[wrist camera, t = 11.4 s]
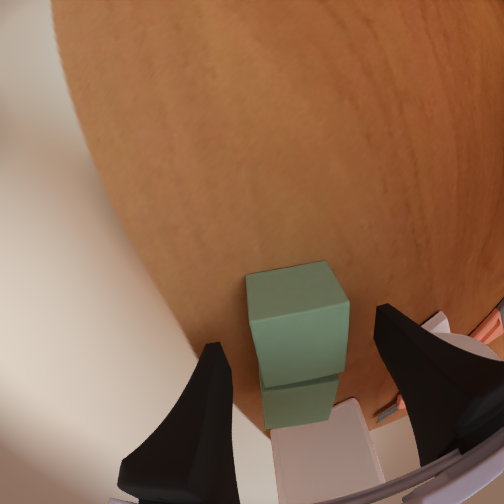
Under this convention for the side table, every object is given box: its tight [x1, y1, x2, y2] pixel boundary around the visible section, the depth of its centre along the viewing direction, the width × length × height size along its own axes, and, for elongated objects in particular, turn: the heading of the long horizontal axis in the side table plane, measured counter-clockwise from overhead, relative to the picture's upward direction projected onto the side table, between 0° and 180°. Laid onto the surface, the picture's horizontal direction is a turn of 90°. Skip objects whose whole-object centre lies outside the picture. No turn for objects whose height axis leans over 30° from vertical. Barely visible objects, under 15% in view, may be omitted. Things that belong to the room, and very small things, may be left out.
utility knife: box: [377, 298, 504, 423], centre depth 19 cm, size 4×1×18 cm
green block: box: [258, 362, 340, 429], centre depth 15 cm, size 4×4×4 cm
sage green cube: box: [245, 261, 350, 388], centre depth 13 cm, size 4×4×4 cm
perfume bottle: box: [270, 398, 386, 504], centre depth 15 cm, size 8×2×12 cm, turn 121°
